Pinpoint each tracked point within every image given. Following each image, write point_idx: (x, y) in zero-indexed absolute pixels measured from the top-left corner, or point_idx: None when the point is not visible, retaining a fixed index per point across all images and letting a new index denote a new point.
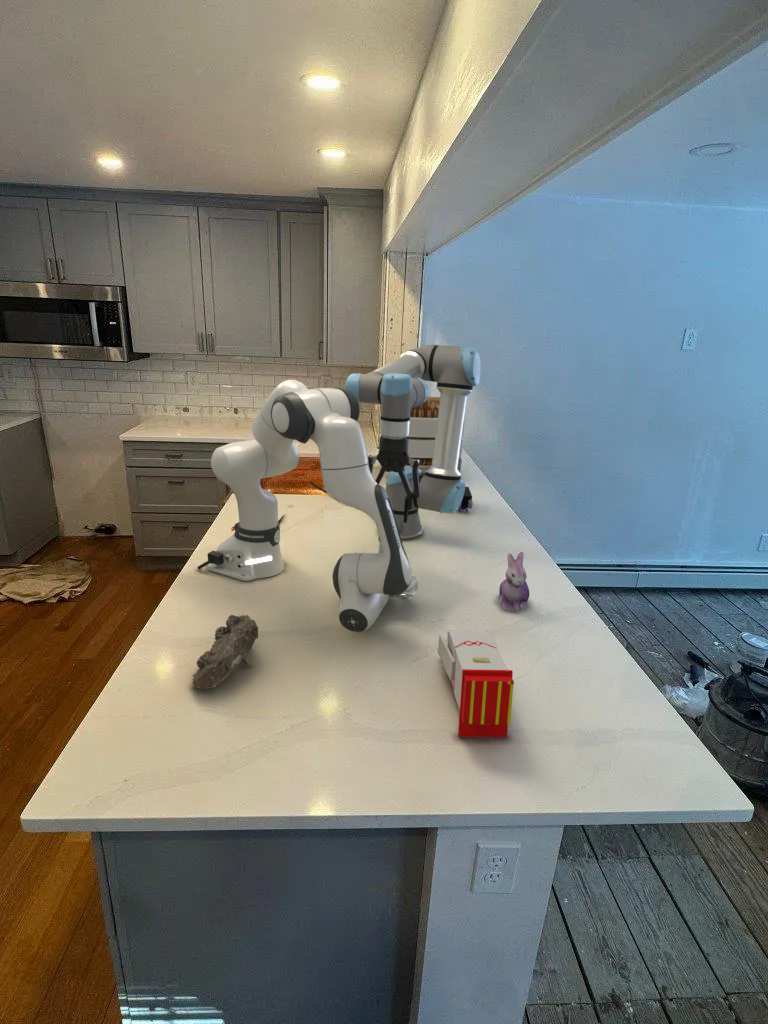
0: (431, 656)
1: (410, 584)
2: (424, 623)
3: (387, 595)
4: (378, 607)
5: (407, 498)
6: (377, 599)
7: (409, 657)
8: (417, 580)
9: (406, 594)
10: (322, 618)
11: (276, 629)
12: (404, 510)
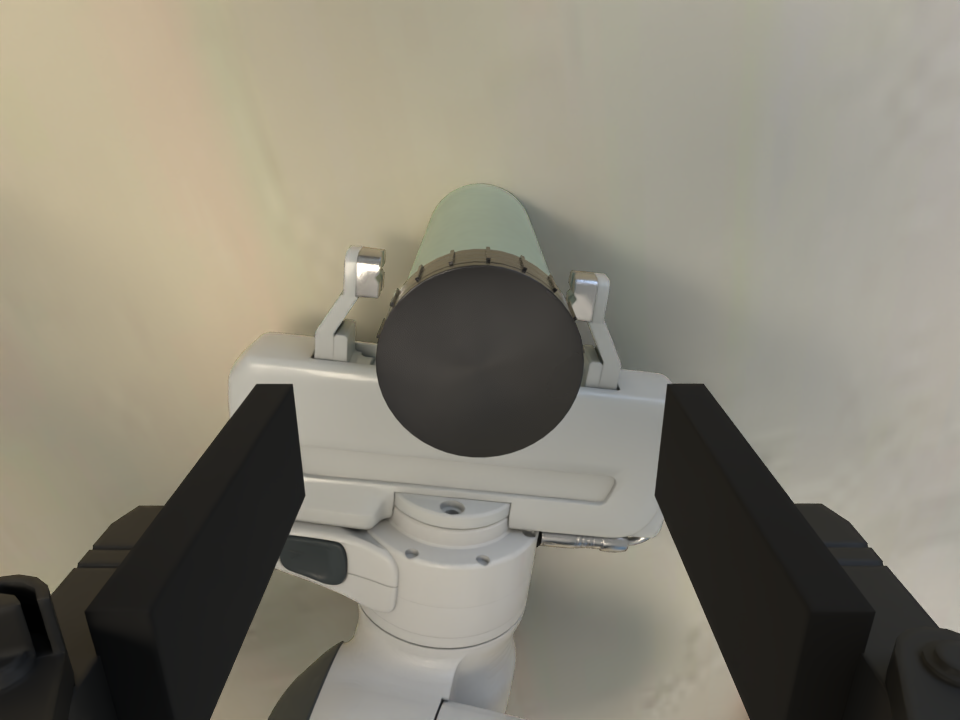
0: (708, 675)
1: (648, 506)
2: None
3: (530, 579)
4: (508, 699)
5: (830, 716)
6: (500, 705)
7: (633, 692)
8: None
9: (624, 547)
10: None
11: None
12: (705, 604)
